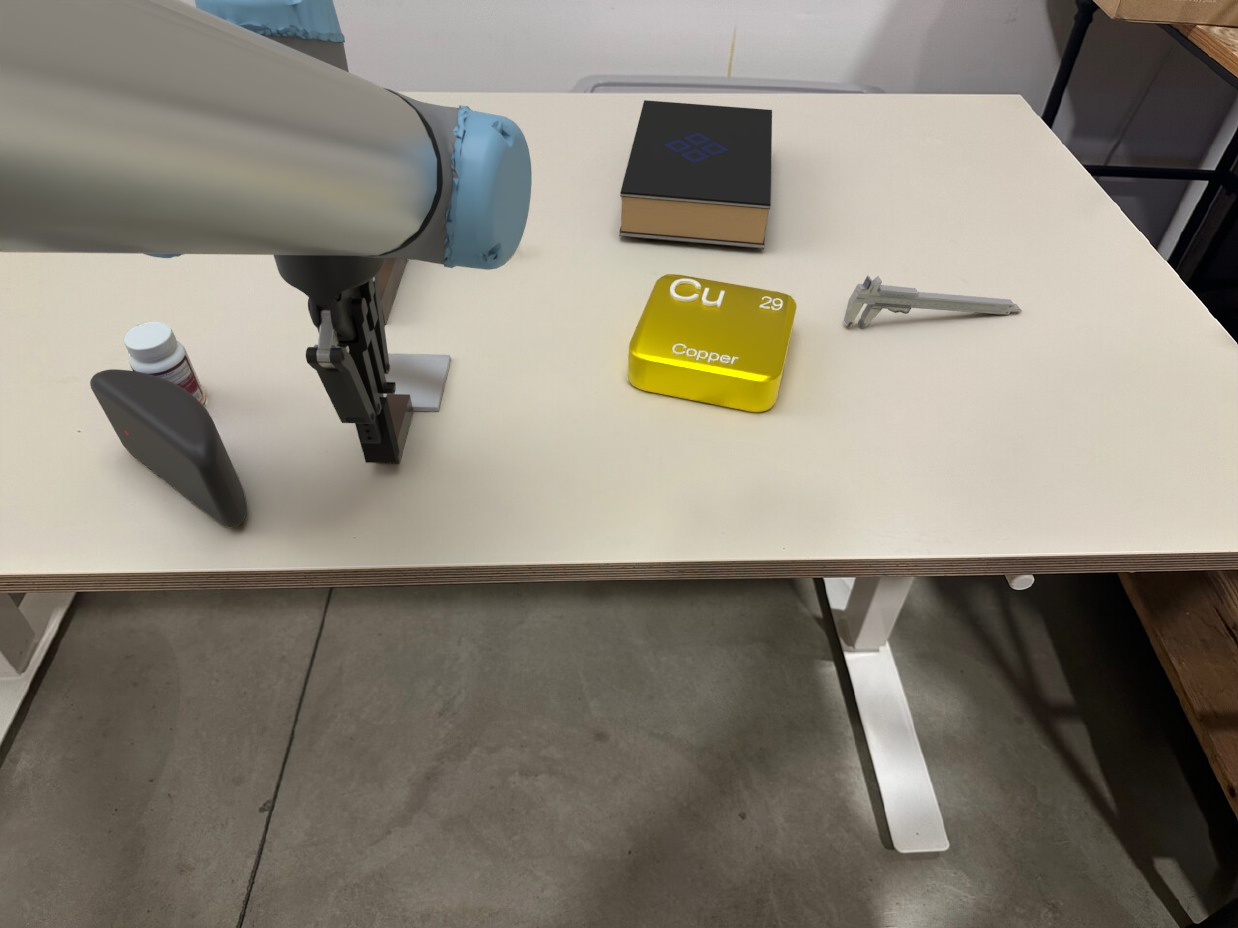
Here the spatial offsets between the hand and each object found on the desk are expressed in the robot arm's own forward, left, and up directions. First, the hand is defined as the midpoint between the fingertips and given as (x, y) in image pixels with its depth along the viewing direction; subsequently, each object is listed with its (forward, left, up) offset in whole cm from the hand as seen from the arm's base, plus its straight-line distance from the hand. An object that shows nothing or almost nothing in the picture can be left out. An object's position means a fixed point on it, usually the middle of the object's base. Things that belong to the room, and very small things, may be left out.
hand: (382, 456), depth 76 cm
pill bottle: (-7, +22, -2) cm, 23 cm away
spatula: (+7, +5, -2) cm, 9 cm away
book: (+58, +7, -2) cm, 59 cm away
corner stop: (+29, +22, -2) cm, 37 cm away
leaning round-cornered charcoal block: (-13, +12, -2) cm, 17 cm away
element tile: (+32, -13, -2) cm, 35 cm away
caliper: (+53, -28, -2) cm, 60 cm away
